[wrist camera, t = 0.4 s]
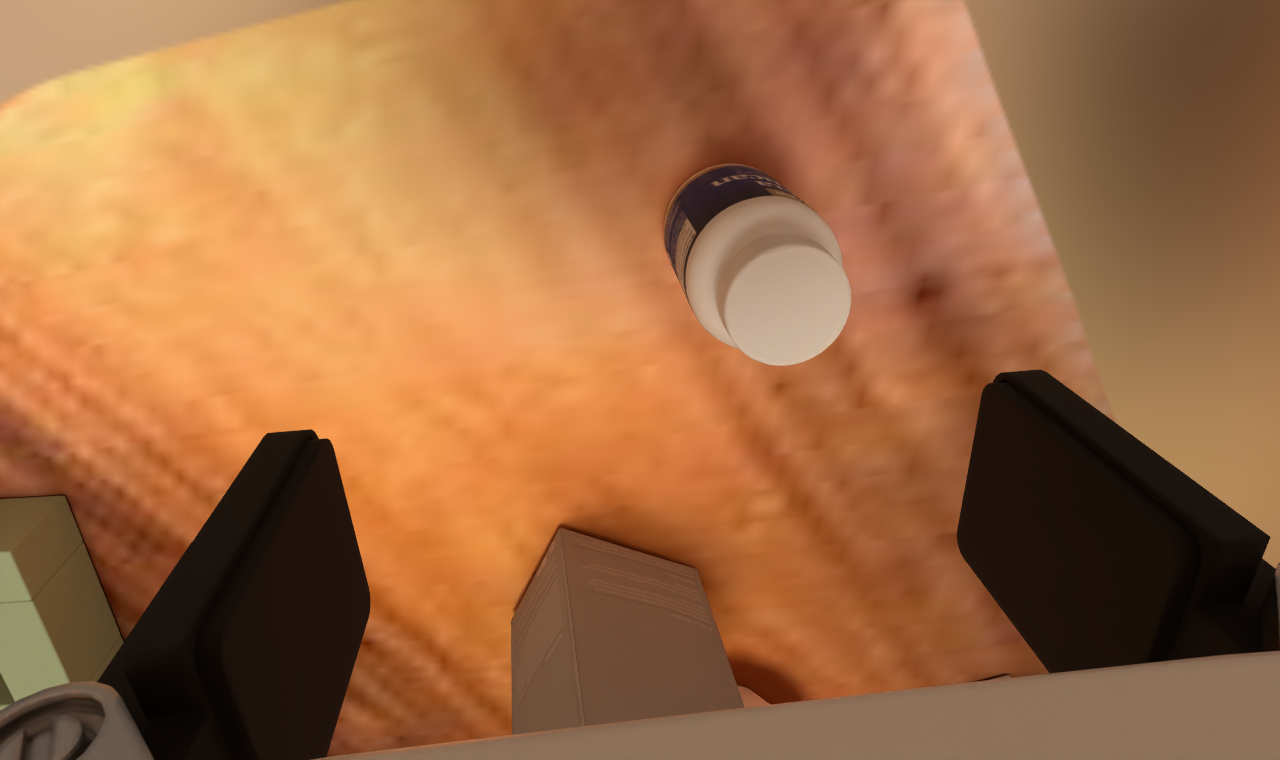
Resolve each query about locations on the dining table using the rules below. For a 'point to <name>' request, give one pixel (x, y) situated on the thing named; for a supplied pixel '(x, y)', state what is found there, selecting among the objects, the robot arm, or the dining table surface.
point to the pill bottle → (757, 264)
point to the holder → (49, 601)
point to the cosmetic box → (614, 640)
